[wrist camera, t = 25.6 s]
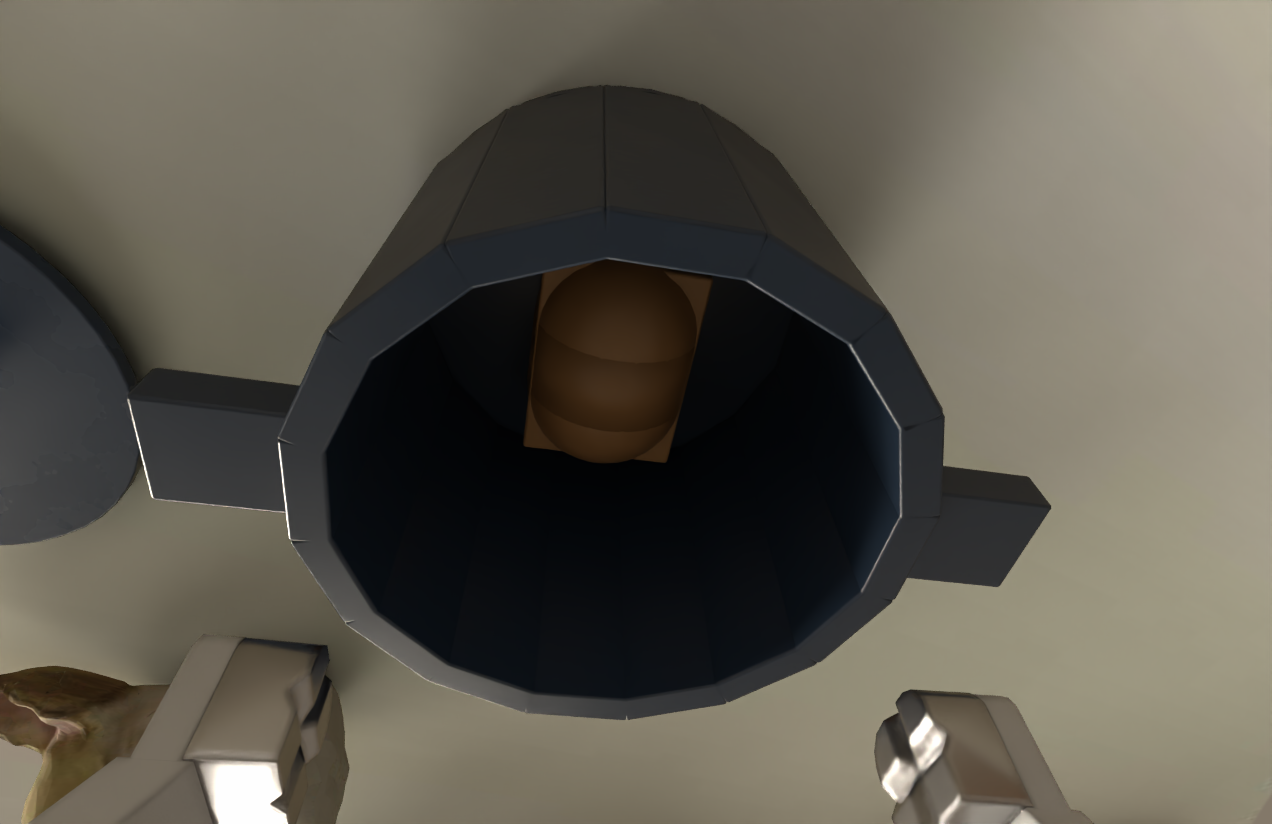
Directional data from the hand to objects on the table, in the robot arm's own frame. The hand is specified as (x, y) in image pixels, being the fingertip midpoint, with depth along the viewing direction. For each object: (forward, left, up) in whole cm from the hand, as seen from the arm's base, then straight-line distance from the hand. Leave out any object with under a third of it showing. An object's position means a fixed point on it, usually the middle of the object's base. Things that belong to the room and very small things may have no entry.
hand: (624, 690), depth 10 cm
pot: (0, 0, -13) cm, 13 cm away
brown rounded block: (0, 0, -13) cm, 13 cm away
